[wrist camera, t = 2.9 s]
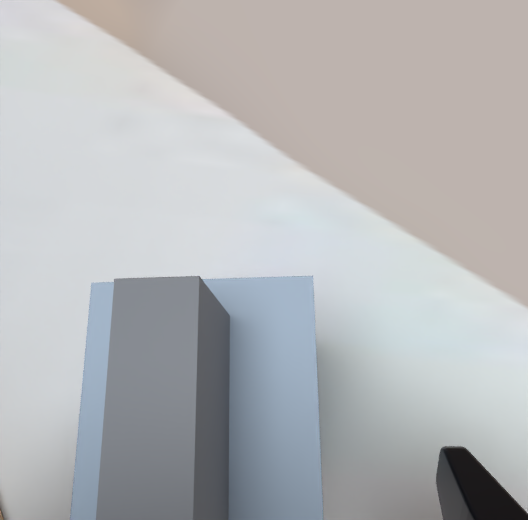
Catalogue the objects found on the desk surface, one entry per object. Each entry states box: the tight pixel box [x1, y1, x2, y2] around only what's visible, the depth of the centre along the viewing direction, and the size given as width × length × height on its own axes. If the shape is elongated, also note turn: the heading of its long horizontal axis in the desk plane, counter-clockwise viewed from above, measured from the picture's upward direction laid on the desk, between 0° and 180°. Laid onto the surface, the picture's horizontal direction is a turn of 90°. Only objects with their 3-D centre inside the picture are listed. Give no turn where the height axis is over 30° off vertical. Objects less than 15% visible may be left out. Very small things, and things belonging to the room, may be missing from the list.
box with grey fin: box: [70, 276, 323, 520], centre depth 12 cm, size 4×4×12 cm
